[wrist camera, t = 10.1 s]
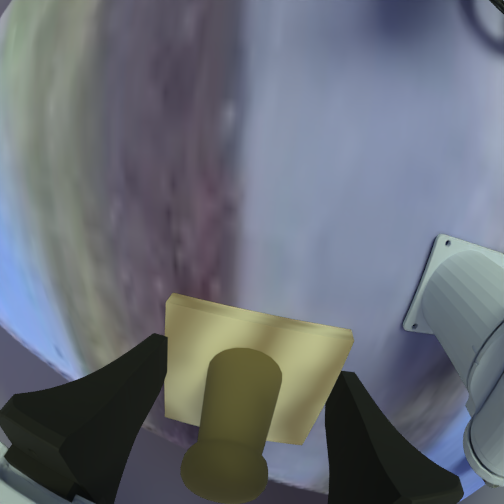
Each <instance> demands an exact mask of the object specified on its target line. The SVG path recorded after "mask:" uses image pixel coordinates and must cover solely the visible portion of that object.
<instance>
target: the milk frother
mask: <svg viewBox="0 0 504 504" xmlns="http://www.w3.org/2000/svg"><path fill="white" fill-rule="evenodd" d="M489 1H490V2H491V3H493V5H494V6H496V8H497V9H498V10H499V11H501V12H502V13H503V14H504V1H503V0H489Z"/></svg>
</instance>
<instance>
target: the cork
mask: <svg viewBox="0 0 504 504" xmlns="http://www.w3.org/2000/svg"><path fill="white" fill-rule="evenodd" d="M281 384H282V372H281V369H280V367H279V365H278V364H277V363H276V362H275V361H274V360H273V359H272V358H271V357H270V356H268V355H266V354H264V353H263V352H261V351H258V350H254V349H250V348H237V347H236V348H231V349H226V350H224V351H222V352H220V353H218V354H216V355H215V356H214V357H213V359H212V360H211V361H210V363H209V367H208V371H207V378H206V385H205V391H204V398H203V405H202V412H201V419H200V427H199V434H198V441H197V443H195V444H194V445H192V446H191V447H190V448H189V449H188V450H187V452H186V453H185V455H184V458H183V460H182V464H181V477H182V480H183V482H184V484H185V486H186V487H187V488H188V489H189V490H191V491H192V492H193V493H194V494H196V495H198V496H200V497H202V498H205V499H207V500H210V501H214V502H218V503H225V504H240V503H246V502H249V501H252V500H254V499H256V498H257V497H258V496H259V495H260V494H261V493H262V492H263V491H264V489H265V487H266V485H267V481H268V467H267V462H266V460H265V459H264V458H263V456H262V453H263V449H264V446H265V442H266V439H267V436H268V432H269V428H270V425H271V421H272V418H273V414H274V410H275V407H276V403H277V399H278V395H279V392H280V388H281Z"/></svg>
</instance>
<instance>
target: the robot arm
mask: <svg viewBox="0 0 504 504" xmlns="http://www.w3.org/2000/svg"><path fill="white" fill-rule="evenodd" d="M447 240H449V243H448V244H447V245H445V243H446V241H447ZM414 324H416V325H415V326H414V327H412V326H413V325H414ZM403 327H404V329H405V330H406V331H412V332H419V333H427V334H434V335H435V336H436V337H437V339H438V341H439V342H440V344H441V345H442V347H443V349H444V350H445V352H446V354H447V355H448V357H449V359H450V360H451V362H452V364H453V366H454V367H455V369H456V371H457V372H458V374H459V376H460V378H461V380H462V381H463V383H464V385H465V387H466V389H467V390H468V392H469V398H468V401H467V403H466V408H467V410H468V412H469V414H470V416H471V420H470V421H469V423H468V424H467V426H466V428H465V432H464V435H463V448H464V453H465V456H466V458H467V461H468V462H469V464H470V466H471V467H472V469H473V470H474V471H475V473H477V474H478V475H479V476H480V477H481V478H482V479H484V480H485V481H487V482H489V483H491V484H494V485H499V486H503V487H504V254H503V253H500V252H497V251H494V250H491V249H488V248H485V247H482V246H479V245H476V244H473V243H470V242H467V241H464V240H461V239H457V238H454V237H451V236H448V235H444V234H439V235H438V236H437V237H436V239H435V242H434V245H433V248H432V251H431V254H430V257H429V260H428V263H427V266H426V268H425V271H424V274H423V276H422V279H421V282H420V284H419V287H418V289H417V292H416V294H415V297H414V299H413V301H412V304H411V306H410V309H409V311H408V313H407V315H406V318H405V320H404V322H403ZM167 360H168V337H166V336H163V335H159V334H156V333H154V334H152V335H151V336H149V337H148V338H146V339H145V340H144V341H142V342H141V343H140V344H138V345H137V346H135V347H134V348H133V349H131V350H130V351H128V352H127V353H125V354H124V355H122V356H121V357H119V358H118V359H116V360H115V361H113V362H111V363H110V364H108V365H106V366H104V367H103V368H101V369H99V370H97V371H95V372H93V373H91V374H89V375H87V376H85V377H83V378H80V379H78V380H75V381H72V382H69V383H66V384H63V385H60V386H57V387H54V388H50V389H45V390H40V391H35V392H28V393H20V394H14V395H13V396H12V397H11V398H10V400H9V401H8V402H7V403H6V404H5V405H4V407H3V408H2V409H1V410H0V426H1V428H2V429H3V431H4V433H5V434H6V436H7V437H8V439H9V440H10V441H11V443H12V445H11V447H10V448H8V447H7V446H6V445H5V444H3V443H2V442H1V441H0V504H114V501H115V498H116V494H117V490H118V487H119V483H120V480H121V477H122V474H123V471H124V468H125V465H126V462H127V459H128V457H129V454H130V451H131V449H132V446H133V443H134V441H135V438H136V436H137V434H138V432H139V430H140V428H141V426H142V424H143V422H144V420H145V418H146V417H147V415H148V413H149V411H150V409H151V407H152V406H153V404H154V402H155V400H156V398H157V396H158V394H159V392H160V390H161V388H162V385H163V383H164V380H165V377H166V374H167ZM325 429H326V439H327V448H328V458H329V474H330V475H329V495H328V504H456V503H458V502H459V501H460V500H461V499H462V497H463V495H464V492H463V488H462V485H461V482H460V479H459V477H458V476H457V475H455V474H453V473H451V472H449V471H447V470H446V469H444V468H442V467H440V466H439V465H437V464H436V463H434V462H433V461H431V460H430V459H428V458H427V457H426V456H424V455H423V454H422V453H421V452H419V451H418V450H417V449H416V448H415V447H414V446H412V445H411V444H410V443H409V442H408V441H407V440H406V439H405V438H404V437H403V436H402V435H401V434H400V433H399V432H398V431H397V430H396V429H395V427H394V426H393V425H392V424H391V423H390V422H389V420H388V419H387V418H386V417H385V415H384V414H383V413H382V411H381V410H380V409H379V407H378V406H377V405H376V403H375V402H374V400H373V399H372V398H371V396H370V395H369V393H368V392H367V390H366V389H365V387H364V386H363V384H362V383H361V381H360V380H359V378H358V377H357V375H356V374H355V372H347V371H341V372H340V374H339V376H338V378H337V380H336V383H335V385H334V387H333V389H332V391H331V393H330V395H329V397H328V399H327V401H326V404H325Z"/></svg>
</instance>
